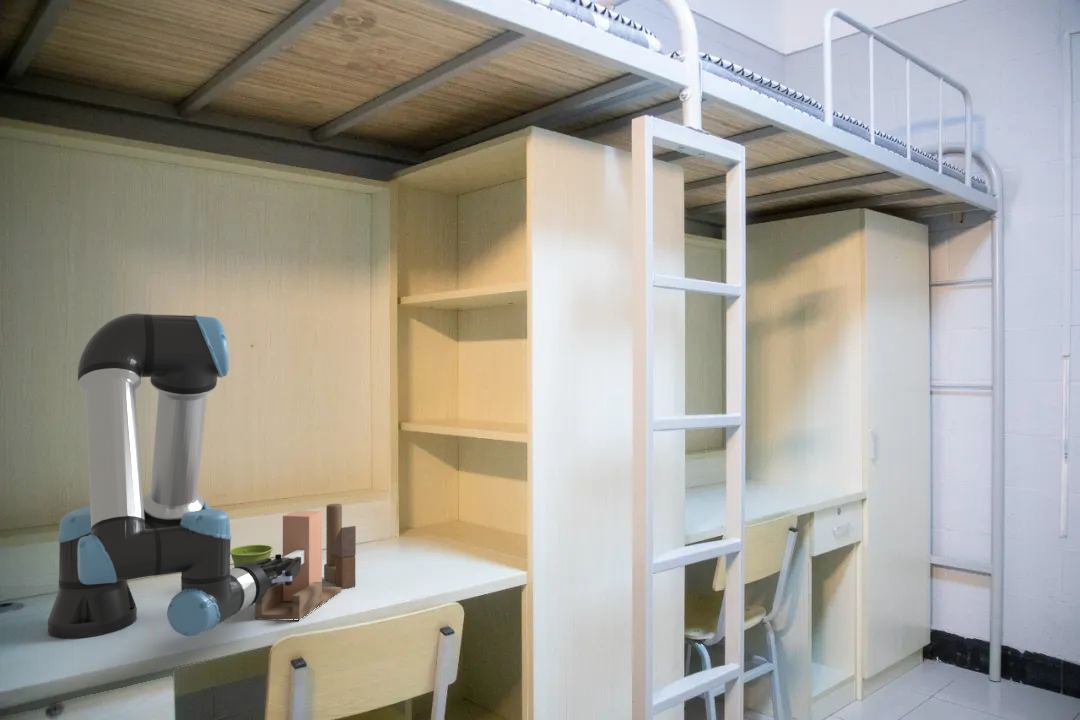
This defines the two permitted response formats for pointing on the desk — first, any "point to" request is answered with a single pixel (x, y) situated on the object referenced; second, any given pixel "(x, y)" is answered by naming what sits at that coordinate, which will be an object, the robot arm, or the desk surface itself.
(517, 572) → the desk surface
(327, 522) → the brown stepped tower
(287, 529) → the block
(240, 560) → the plant pot
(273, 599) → the chute
